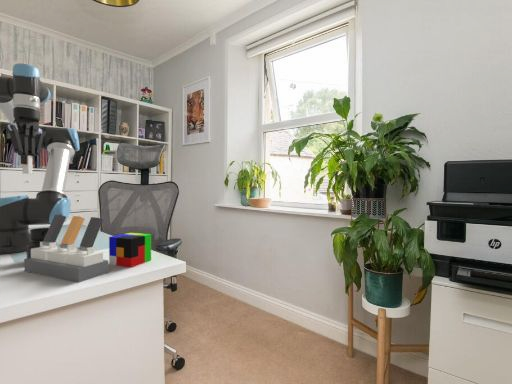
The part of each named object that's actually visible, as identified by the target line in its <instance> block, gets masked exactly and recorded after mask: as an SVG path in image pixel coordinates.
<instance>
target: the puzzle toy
mask: <svg viewBox="0 0 512 384" xmlns="http://www.w3.org/2000/svg"><path fill="white" fill-rule="evenodd" d="M108 244H109V245H108V247H109V249H108V252H109V253H108V254H109V255H108V257H109V258H108V259H109V260H108V266H109V265H110V266H118V267H125V268H134V267H137V266H140V265H143V264H146V263H148V262H151V261H152V234H150V233H139V232H127V233H122V234H118V235H113V236H109V238H108Z"/></svg>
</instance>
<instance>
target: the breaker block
mask: <svg viewBox="0 0 512 384" xmlns="http://www.w3.org/2000/svg"><path fill="white" fill-rule="evenodd" d="M65 219H66V217H65V216H63V215H55V216H54V218H53V220H52V222H51V224H49V227H48V228H49V229H48V231H47V233H46V236H45V238H44V240H43V242H40V247H38V248H33V249H31V258H27V257H26V258H24V259H23V261H24V264H23V265H24V269H23V270H24V272H28V273H33V274H37V275H41V276H47V277H51V278H55V279H62V280H67V281H71V282H76V283H80V282H84V281H86V280H91V279H93V278H96V277H99V276H102V275H105V274H107V273H109V260H108V259H104V252H103V251H96V250H95V247H94V245H95V242H96V239H97V238H98V234H99V232H100V229H101V227H102V223H103V221H104V219H103V218H100V217H94V216H93V217H92V216H91V217H90V218H89V219H90V220H89V222H88V224H87V227H86V230H85V231H84V234H83V236H82V239H81V241H80V244H79V245H78V246H75V243H74V244H73V245H68V246H67V249H65V248H61V247H60V245H61V244H62V243H58V244H57V246H56V243H57V242H56V241H57V239H58V237H59V235H60V233H61V230H62V228H63V226H64V223H65V222H66V221H65ZM64 221H65V222H64Z"/></svg>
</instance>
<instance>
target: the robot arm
mask: <svg viewBox="0 0 512 384" xmlns="http://www.w3.org/2000/svg"><path fill="white" fill-rule="evenodd" d="M11 75H12V77H8V76H0V111H1V113H2V114H3V115H4V117H6V119H7V121H8V122H9V123H10V124H6V125H5V127H6V129H7V131H8V132H9V136H10V140H11V143H12V149H13V152H14V153H15V154H17V155H18V156H20V164H21V165H22V174H27V175H28V174H29V175H31V174H33V166H34V165H35V157H36V156H39V155H40V153H41V150H47V152H48V153H49V156H48V161H47V165H46V170H45V174H44V178H43V183H42V188H41V190H39V191H38V192H37V193H36V196H35V198H32V197H31V198H30V197H29V196H28V194H26V195H25V194H24V195H16V196H6V197H0V255H4V254H16V253H21V252H27V251H26V247H27V245H28V244H29V243H30V242H31V240H30V239H31V238H30V230H29V228H30V227H29V226H41V225H43V226H44V225H51V222H52V220H53V218H54V216H55V215H63V216H65V217H66V219H65V221H64V223H65V222H67V220H68V218H69V216H70V214H71V208H72V207H71V206H72V204H71V200H70V198H68V195H67V194H66V193H65V190H66V187H67V180H68V179H67V178H68V172H69V169H70V168H69V166H70V160H71V157H73V156H74V155H75V152H78V151H80V139H79V134H78V132H77V130H76V129H75V128H71V127H70V128H69V127H55V126H42V125H40V124H39V123H40V121H41V113H40V109H41V104H45V103H47V102H49V100H50V99H51V97H52V96H51V94H52V93H51V91H50V89H49V88H48V86H47V85H46V84H44V83H43V82H42V81H41V80H40V78H41V75H40V70H39V69H38V67H36V66H34V65H31V64H27V63H19V62H18V63H15V64H14V65H13V67H12V73H11ZM33 175H34V174H33Z"/></svg>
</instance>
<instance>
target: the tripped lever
mask: <svg viewBox="0 0 512 384" xmlns="http://www.w3.org/2000/svg"><path fill="white" fill-rule="evenodd" d="M85 220H86V219H85V218H84V217H82V216H77V215H73V216H72V218H71V220H70V222H69V224H68V226H67V228H66V231H65V233H64V235H63V237H62V240H61V242H60V244H61V245H60V247H61V248H65V249H67V246H68V245H73V244H74V245H75V242H76V240H77V237H78V235H79V232H80V231H81V229H82V226H83V223H85V222H84V221H85Z"/></svg>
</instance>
